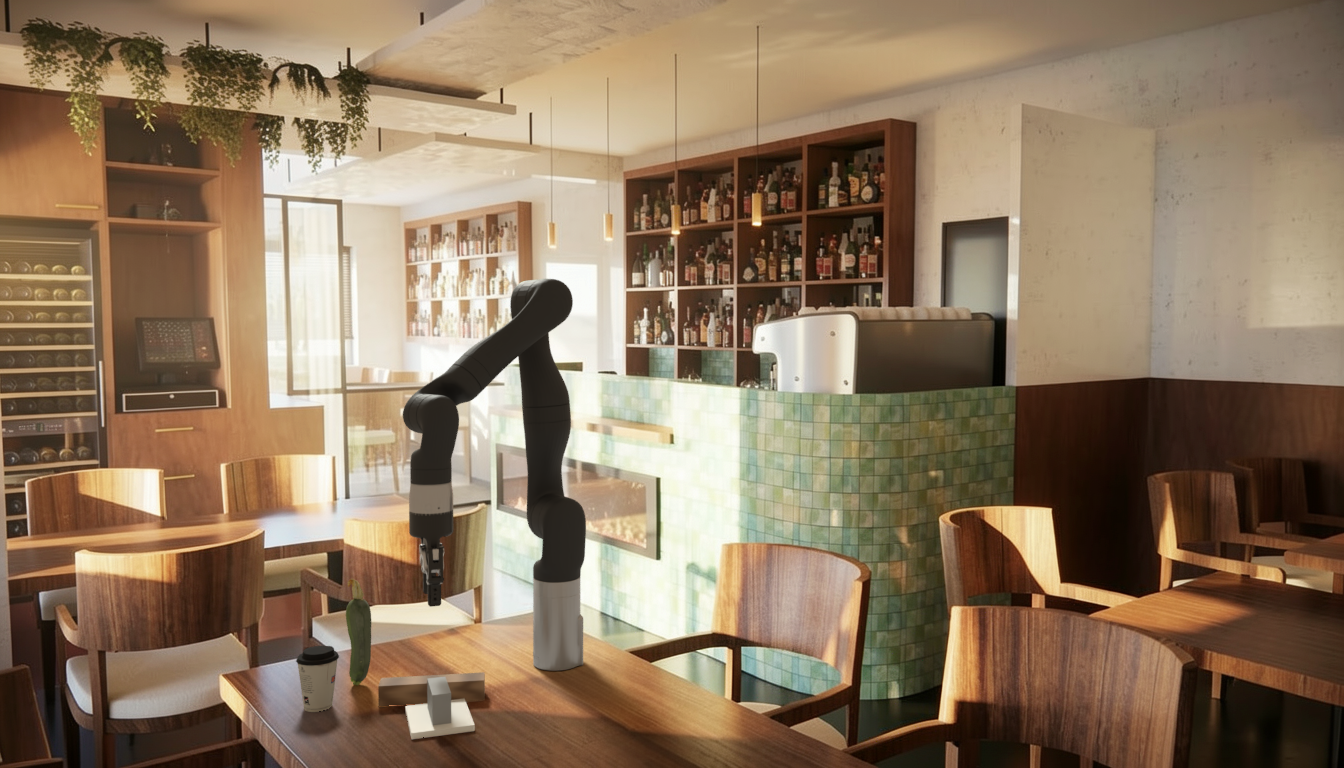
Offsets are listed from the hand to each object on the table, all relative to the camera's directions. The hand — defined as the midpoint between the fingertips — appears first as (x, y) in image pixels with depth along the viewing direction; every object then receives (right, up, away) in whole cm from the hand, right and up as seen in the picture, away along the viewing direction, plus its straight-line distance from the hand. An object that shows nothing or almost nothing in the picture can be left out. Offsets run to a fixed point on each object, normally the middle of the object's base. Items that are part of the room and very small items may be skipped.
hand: (431, 599), depth 167 cm
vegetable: (-15, -18, +7) cm, 24 cm away
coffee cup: (-19, -18, -3) cm, 26 cm away
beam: (0, -18, +1) cm, 18 cm away
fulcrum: (+3, -18, -9) cm, 21 cm away
